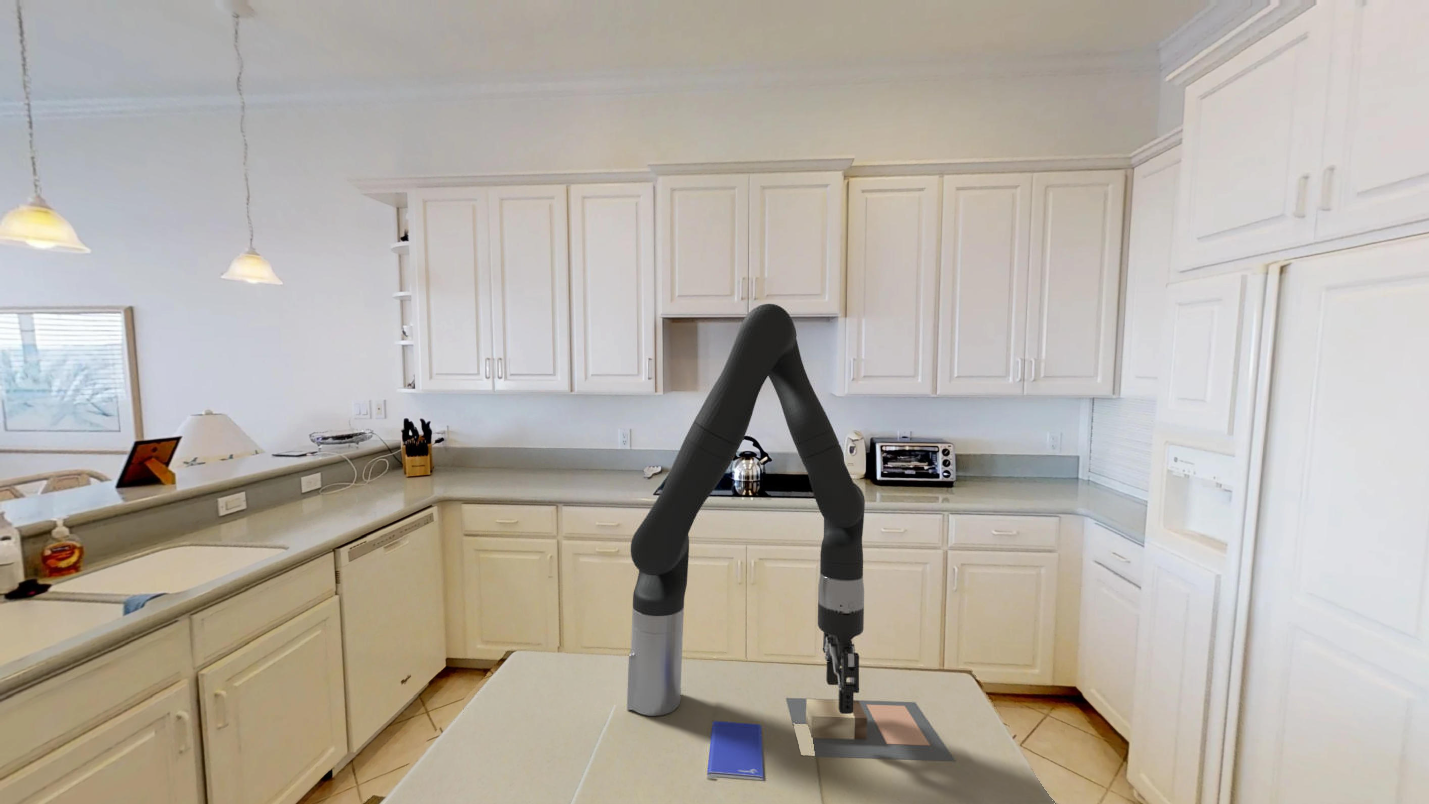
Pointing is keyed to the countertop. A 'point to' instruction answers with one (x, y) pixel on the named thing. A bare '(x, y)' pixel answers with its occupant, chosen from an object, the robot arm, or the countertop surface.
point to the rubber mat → (881, 733)
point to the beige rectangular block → (835, 720)
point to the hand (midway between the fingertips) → (839, 697)
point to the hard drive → (735, 751)
